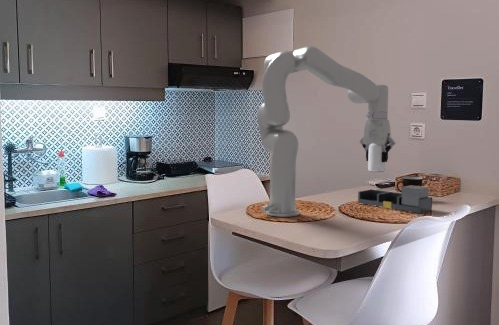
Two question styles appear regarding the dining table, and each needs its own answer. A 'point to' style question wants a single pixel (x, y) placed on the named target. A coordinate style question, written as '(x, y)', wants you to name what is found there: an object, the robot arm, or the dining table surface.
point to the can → (375, 158)
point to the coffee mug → (410, 182)
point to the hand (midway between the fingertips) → (376, 160)
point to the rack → (399, 199)
